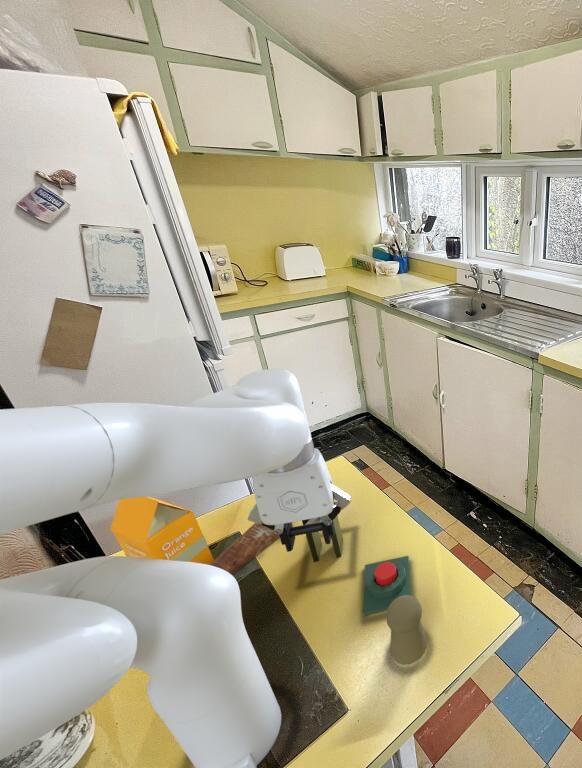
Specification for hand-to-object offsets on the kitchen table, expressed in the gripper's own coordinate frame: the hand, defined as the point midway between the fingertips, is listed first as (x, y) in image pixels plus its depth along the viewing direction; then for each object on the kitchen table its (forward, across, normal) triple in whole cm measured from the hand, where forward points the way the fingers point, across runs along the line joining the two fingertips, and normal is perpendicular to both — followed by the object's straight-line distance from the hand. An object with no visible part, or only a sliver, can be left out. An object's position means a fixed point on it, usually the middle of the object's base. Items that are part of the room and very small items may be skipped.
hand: (310, 540), depth 68 cm
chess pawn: (+14, +14, -14) cm, 24 cm away
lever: (+1, 0, +4) cm, 4 cm away
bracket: (+13, 0, +9) cm, 16 cm away
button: (+10, +11, -2) cm, 15 cm away
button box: (+13, +11, -2) cm, 18 cm away
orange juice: (+14, -26, +11) cm, 31 cm away
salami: (+14, -15, +12) cm, 23 cm away
